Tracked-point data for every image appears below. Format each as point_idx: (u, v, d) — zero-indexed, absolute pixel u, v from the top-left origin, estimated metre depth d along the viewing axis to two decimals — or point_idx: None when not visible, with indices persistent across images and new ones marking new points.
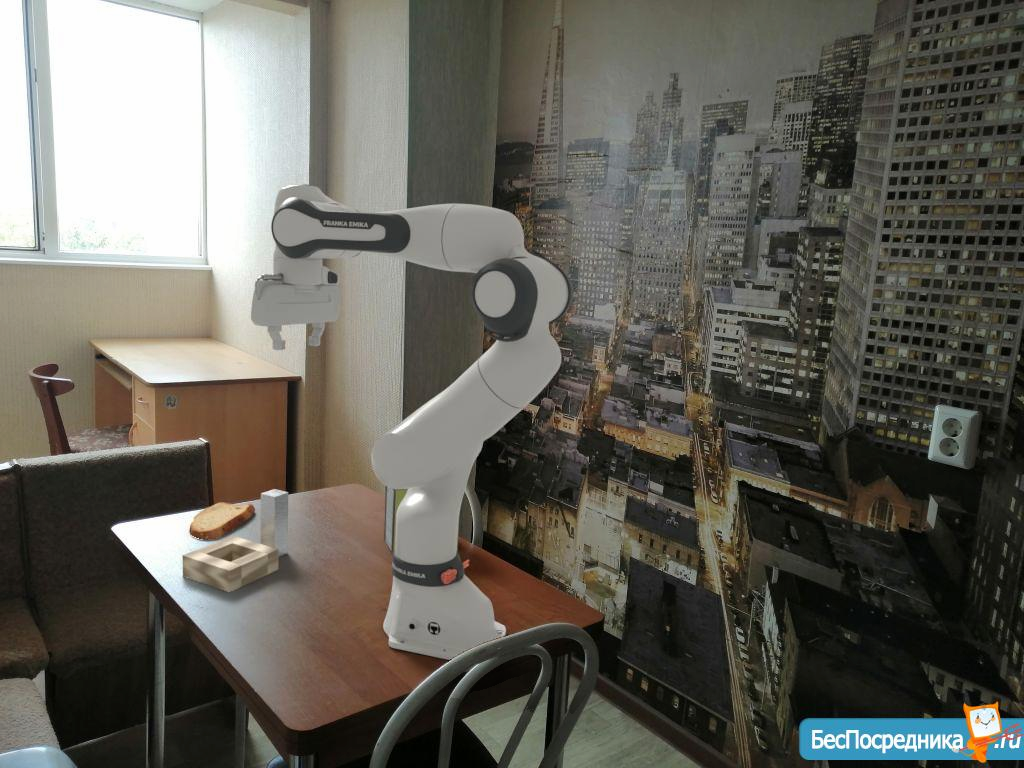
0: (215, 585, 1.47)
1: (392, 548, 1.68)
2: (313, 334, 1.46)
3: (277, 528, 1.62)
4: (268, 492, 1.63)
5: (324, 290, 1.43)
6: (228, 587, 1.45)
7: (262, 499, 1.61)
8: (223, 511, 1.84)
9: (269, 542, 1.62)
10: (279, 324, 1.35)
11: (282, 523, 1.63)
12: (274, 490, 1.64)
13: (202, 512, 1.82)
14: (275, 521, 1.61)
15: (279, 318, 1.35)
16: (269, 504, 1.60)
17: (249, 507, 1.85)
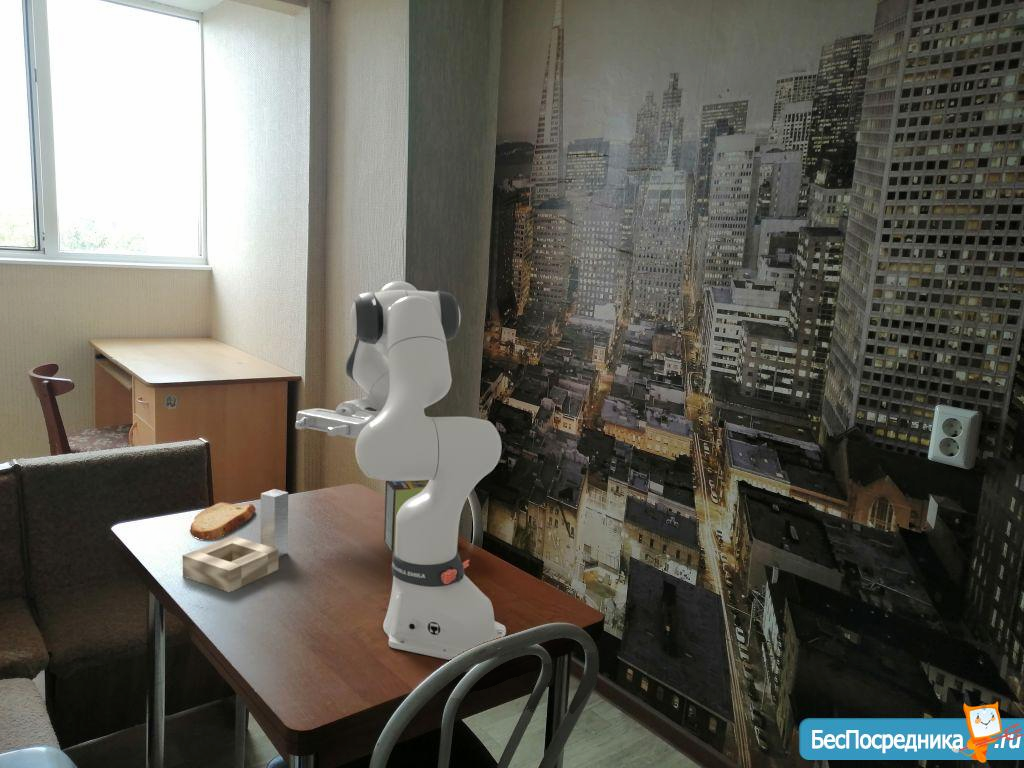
0: (215, 585, 1.47)
1: (392, 548, 1.68)
2: None
3: (277, 528, 1.62)
4: (268, 492, 1.63)
5: (359, 413, 1.78)
6: (228, 587, 1.45)
7: (262, 499, 1.61)
8: (223, 511, 1.84)
9: (269, 542, 1.62)
10: (307, 414, 1.78)
11: (282, 523, 1.63)
12: (274, 490, 1.64)
13: (203, 512, 1.82)
14: (275, 521, 1.61)
15: (309, 412, 1.78)
16: (269, 504, 1.60)
17: (250, 507, 1.85)
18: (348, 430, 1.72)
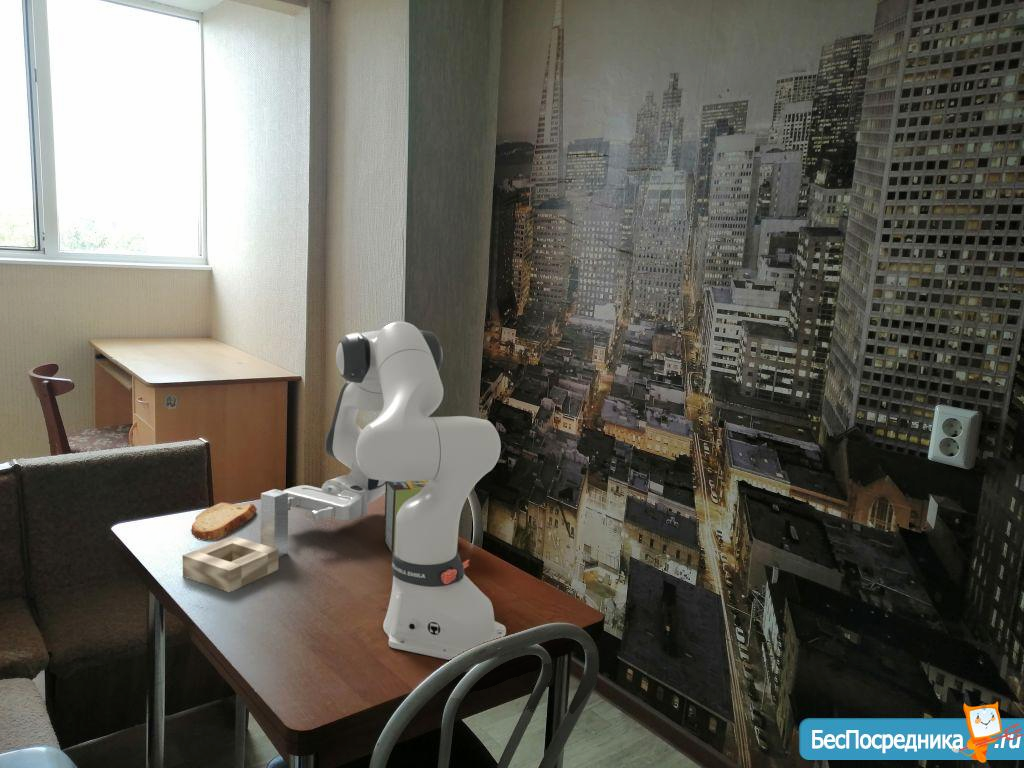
0: (215, 585, 1.47)
1: (392, 548, 1.68)
2: None
3: (277, 528, 1.62)
4: (269, 492, 1.63)
5: (345, 492, 1.77)
6: (228, 587, 1.45)
7: (262, 499, 1.61)
8: (224, 511, 1.84)
9: (269, 542, 1.62)
10: (292, 493, 1.76)
11: (282, 523, 1.63)
12: (274, 490, 1.64)
13: (204, 512, 1.82)
14: (275, 521, 1.61)
15: (295, 491, 1.77)
16: (269, 504, 1.60)
17: (251, 507, 1.85)
18: (333, 512, 1.70)
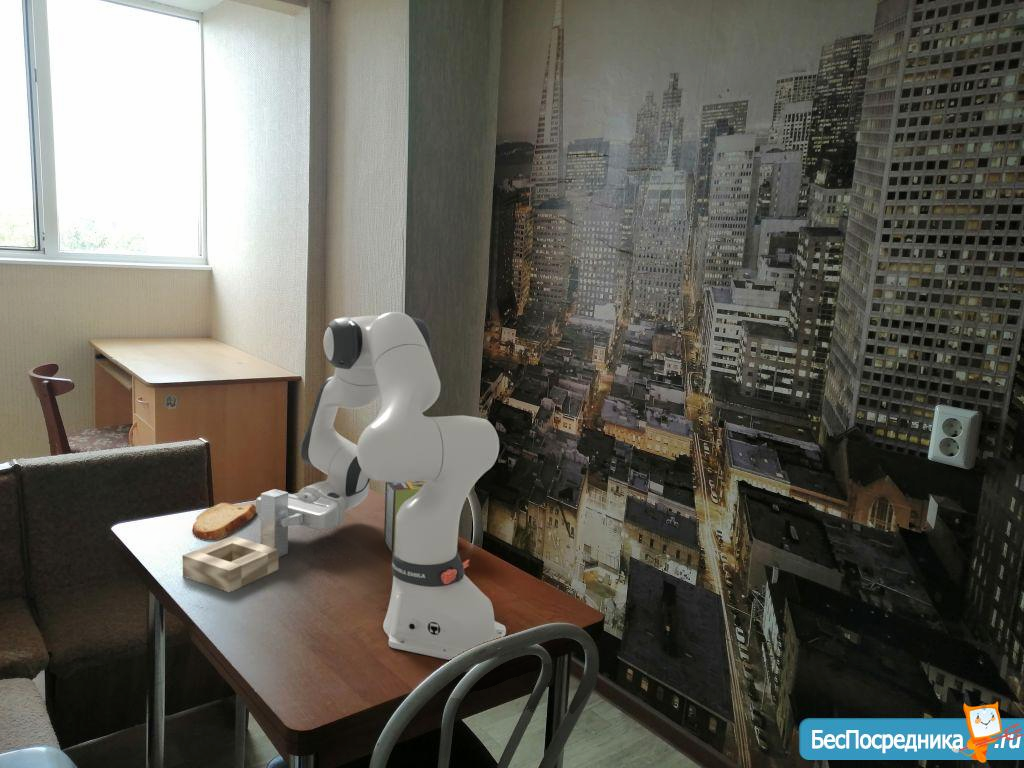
0: (215, 585, 1.47)
1: (392, 548, 1.68)
2: None
3: (277, 528, 1.62)
4: (269, 492, 1.63)
5: (321, 500, 1.70)
6: (228, 587, 1.45)
7: (262, 499, 1.61)
8: (225, 511, 1.84)
9: (269, 542, 1.62)
10: None
11: None
12: (274, 490, 1.64)
13: (204, 512, 1.82)
14: (275, 521, 1.61)
15: None
16: (269, 504, 1.60)
17: (251, 507, 1.85)
18: (301, 519, 1.64)
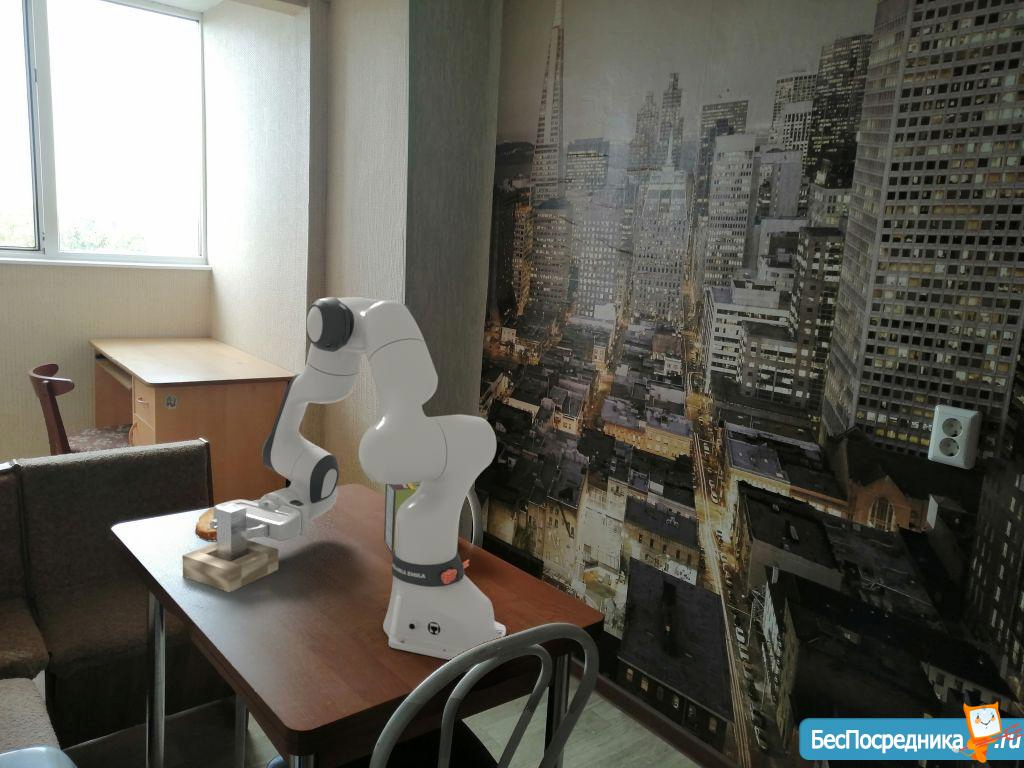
0: (215, 585, 1.47)
1: (392, 548, 1.68)
2: None
3: (234, 545, 1.51)
4: (225, 506, 1.52)
5: (283, 508, 1.59)
6: (228, 587, 1.45)
7: (218, 515, 1.51)
8: None
9: None
10: None
11: (240, 540, 1.52)
12: (232, 505, 1.53)
13: (207, 513, 1.81)
14: (231, 538, 1.50)
15: None
16: (225, 520, 1.50)
17: None
18: (266, 531, 1.53)
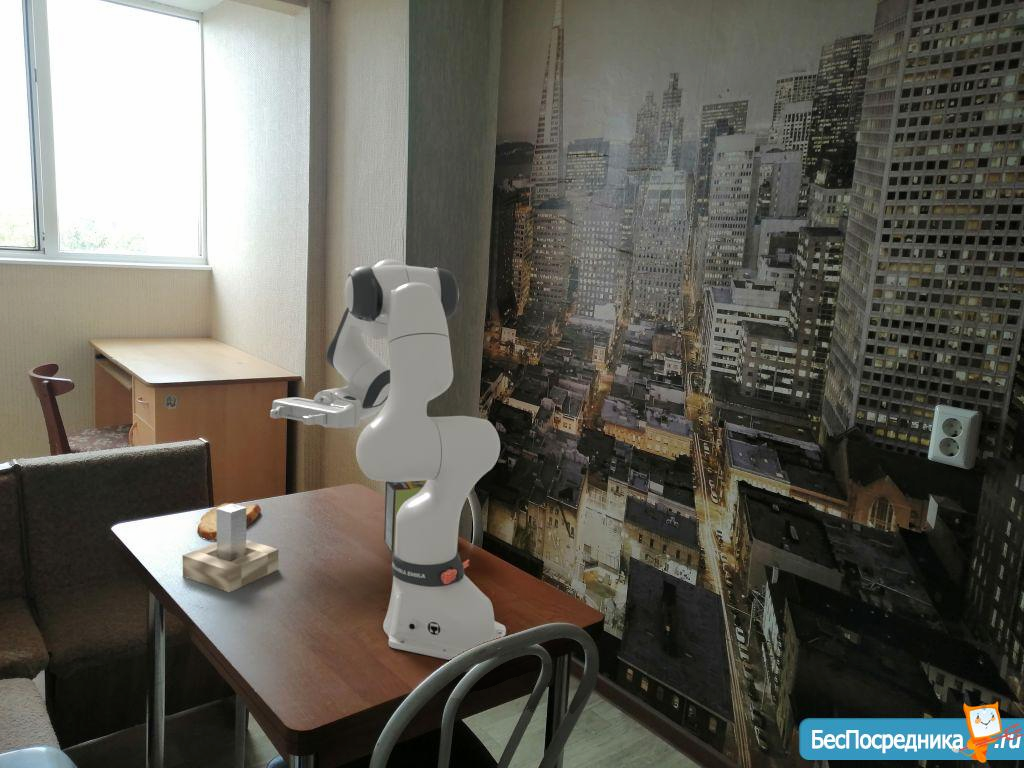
0: (215, 585, 1.47)
1: (392, 548, 1.68)
2: None
3: (234, 545, 1.51)
4: (225, 506, 1.52)
5: (337, 402, 1.70)
6: (228, 587, 1.45)
7: (218, 515, 1.51)
8: None
9: None
10: (283, 403, 1.70)
11: (240, 540, 1.52)
12: (231, 505, 1.53)
13: (208, 513, 1.81)
14: (231, 538, 1.50)
15: (285, 401, 1.71)
16: (225, 520, 1.50)
17: (255, 507, 1.85)
18: (325, 419, 1.64)
